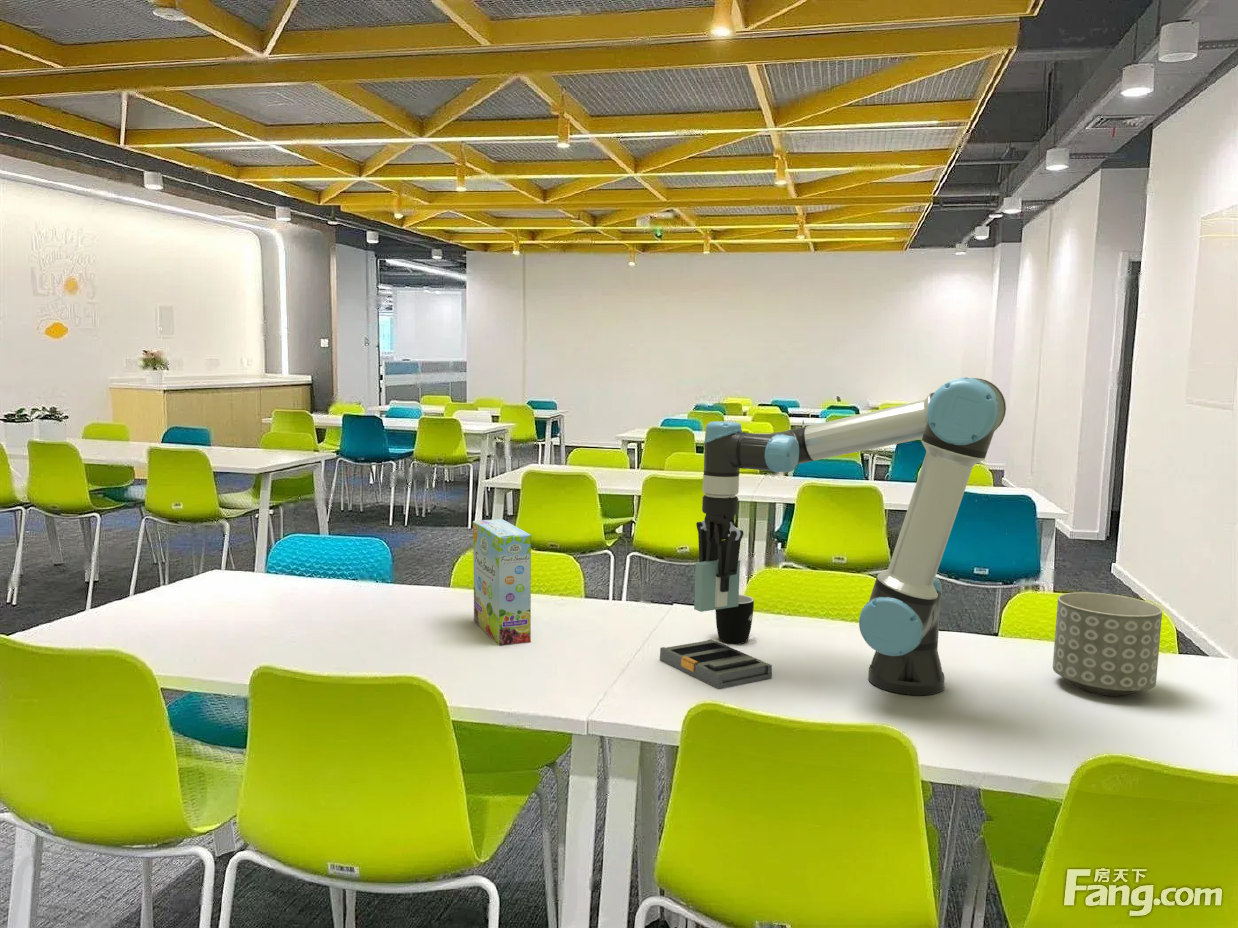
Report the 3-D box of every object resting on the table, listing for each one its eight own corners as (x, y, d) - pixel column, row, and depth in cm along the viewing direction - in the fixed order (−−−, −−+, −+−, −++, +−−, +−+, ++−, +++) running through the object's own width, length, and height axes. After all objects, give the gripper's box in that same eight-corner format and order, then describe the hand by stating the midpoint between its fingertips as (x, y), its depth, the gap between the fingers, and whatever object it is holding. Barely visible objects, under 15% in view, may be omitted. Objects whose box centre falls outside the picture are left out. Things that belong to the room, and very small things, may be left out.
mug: (753, 646, 216) (754, 604, 215) (714, 644, 217) (715, 602, 216) (750, 632, 228) (752, 591, 227) (714, 630, 229) (715, 589, 228)
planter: (1064, 667, 206) (1071, 587, 204) (1162, 688, 194) (1170, 603, 192) (1040, 689, 191) (1046, 603, 189) (1144, 713, 179) (1152, 621, 178)
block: (738, 606, 200) (740, 560, 199) (700, 611, 195) (702, 564, 193) (731, 603, 202) (733, 558, 201) (694, 609, 197) (695, 562, 195)
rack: (771, 678, 194) (772, 661, 194) (717, 689, 187) (718, 672, 186) (710, 650, 212) (710, 635, 212) (658, 659, 205) (659, 644, 204)
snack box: (470, 622, 231) (470, 519, 228) (503, 618, 235) (504, 518, 232) (496, 646, 211) (497, 535, 209) (532, 642, 215) (534, 533, 212)
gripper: (758, 499, 191) (753, 610, 194) (712, 489, 204) (708, 594, 207) (729, 501, 187) (725, 615, 190) (684, 491, 200) (680, 598, 203)
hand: (716, 604), depth 198 cm, fingers closed on block, 2 cm apart
